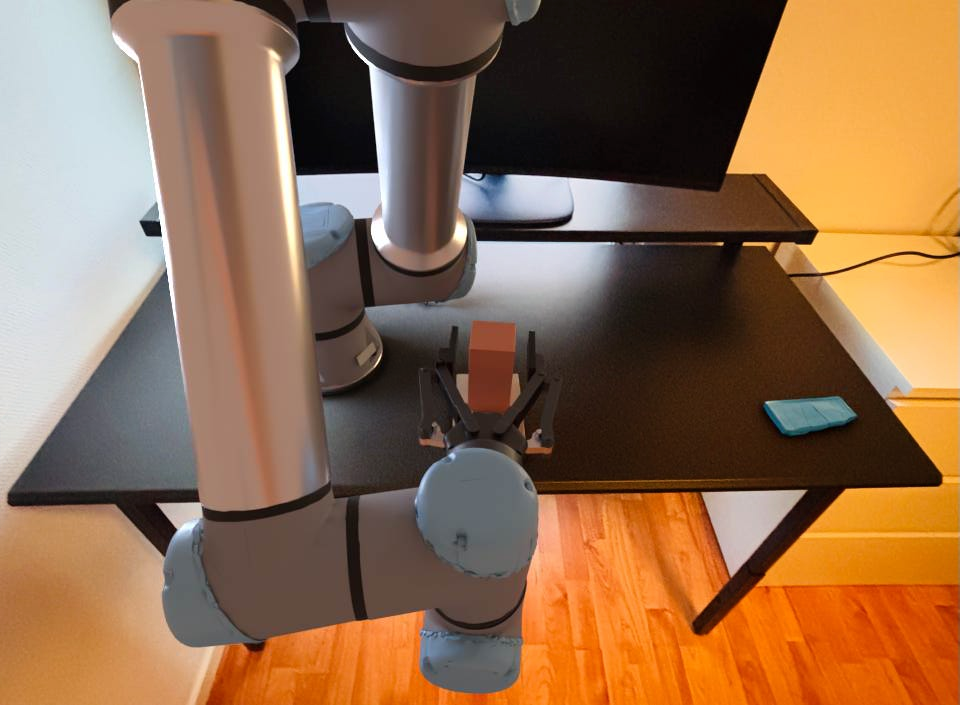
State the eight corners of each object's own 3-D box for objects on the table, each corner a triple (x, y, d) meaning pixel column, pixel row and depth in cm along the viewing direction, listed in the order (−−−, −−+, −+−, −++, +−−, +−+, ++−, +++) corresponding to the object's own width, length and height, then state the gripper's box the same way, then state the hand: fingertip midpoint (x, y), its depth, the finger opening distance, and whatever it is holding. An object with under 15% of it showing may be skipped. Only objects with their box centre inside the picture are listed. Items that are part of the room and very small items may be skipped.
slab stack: (453, 460, 68) (453, 424, 63) (452, 407, 74) (452, 371, 69) (523, 459, 68) (528, 423, 63) (517, 406, 75) (521, 371, 70)
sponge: (867, 428, 73) (843, 393, 76) (784, 433, 71) (765, 398, 75) (860, 434, 74) (837, 399, 78) (779, 439, 73) (760, 404, 76)
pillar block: (467, 410, 65) (469, 348, 58) (470, 381, 68) (472, 320, 62) (508, 413, 64) (515, 351, 58) (509, 383, 68) (515, 322, 61)
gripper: (370, 508, 52) (408, 353, 69) (591, 525, 51) (575, 364, 68) (361, 462, 47) (405, 307, 64) (606, 480, 46) (584, 318, 63)
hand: (493, 337), depth 66 cm, fingers open, 9 cm apart
